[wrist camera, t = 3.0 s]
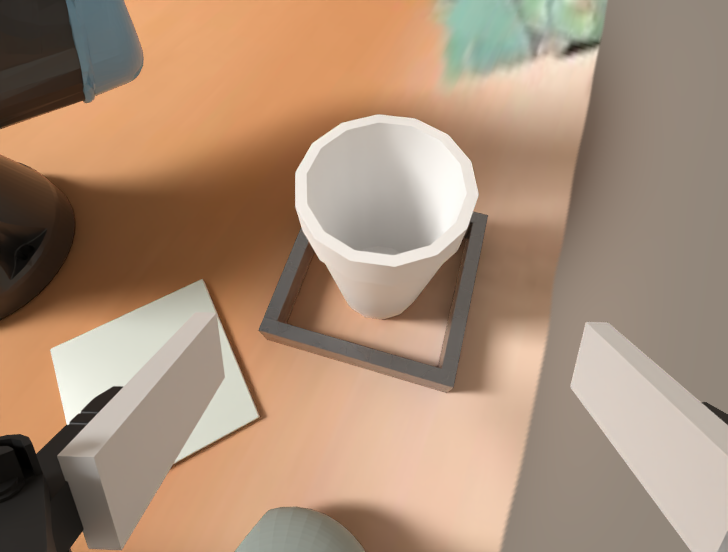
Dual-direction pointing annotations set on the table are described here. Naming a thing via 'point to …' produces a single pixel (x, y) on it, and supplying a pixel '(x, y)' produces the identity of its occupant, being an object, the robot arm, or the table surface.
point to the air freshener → (298, 533)
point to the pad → (136, 347)
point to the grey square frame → (364, 356)
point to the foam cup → (384, 208)
